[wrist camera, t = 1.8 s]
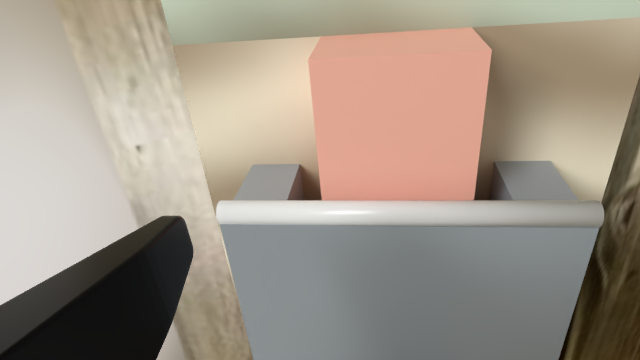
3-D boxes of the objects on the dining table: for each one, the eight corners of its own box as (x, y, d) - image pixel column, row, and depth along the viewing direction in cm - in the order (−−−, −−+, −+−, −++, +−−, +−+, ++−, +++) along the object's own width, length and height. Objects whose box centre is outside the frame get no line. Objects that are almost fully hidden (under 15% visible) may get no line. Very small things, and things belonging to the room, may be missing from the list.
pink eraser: (449, 260, 19) (460, 312, 16) (338, 257, 20) (332, 307, 17) (471, 27, 14) (492, 49, 11) (321, 36, 15) (308, 59, 12)
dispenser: (517, 310, 20) (548, 397, 16) (278, 301, 22) (257, 378, 18) (553, 143, 15) (607, 210, 12) (249, 149, 17) (214, 209, 14)
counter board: (556, 310, 21) (563, 327, 20) (245, 299, 23) (240, 313, 22) (783, -497, 9) (826, -542, 8) (91, -347, 11) (67, -369, 10)
